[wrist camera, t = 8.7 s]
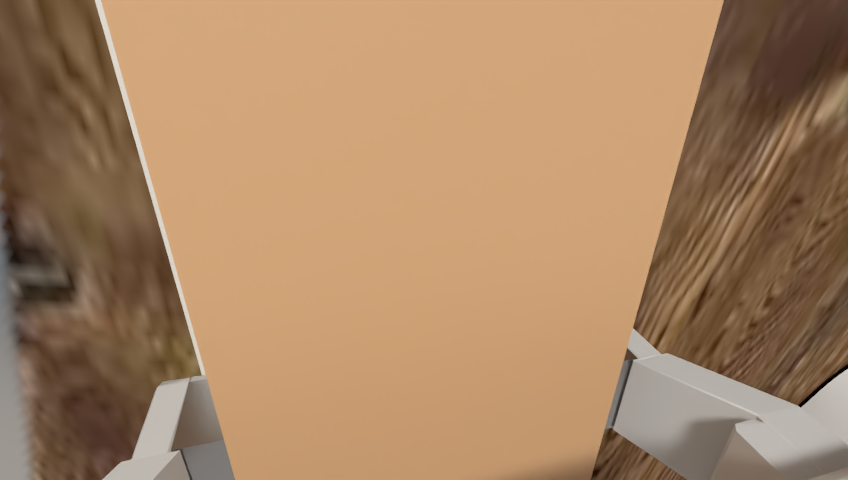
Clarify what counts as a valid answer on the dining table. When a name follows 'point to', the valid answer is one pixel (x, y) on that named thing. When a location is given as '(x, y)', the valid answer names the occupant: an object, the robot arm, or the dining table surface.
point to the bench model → (412, 218)
